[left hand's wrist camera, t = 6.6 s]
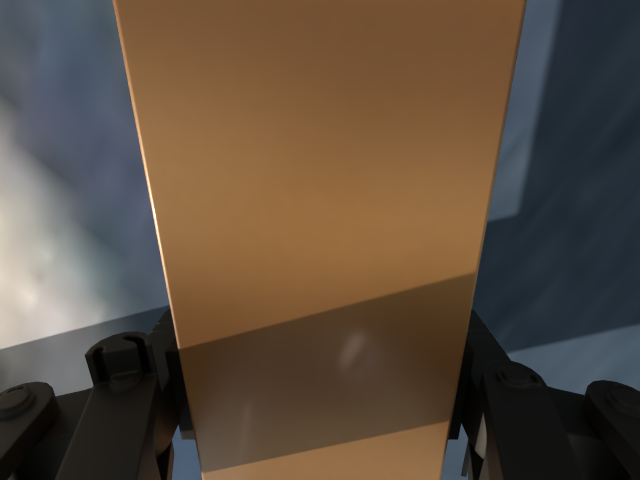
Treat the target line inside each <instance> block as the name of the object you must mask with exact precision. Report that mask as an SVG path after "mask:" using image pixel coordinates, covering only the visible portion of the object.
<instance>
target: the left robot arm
mask: <svg viewBox="0 0 640 480" xmlns="http://www.w3.org/2000/svg"><path fill="white" fill-rule="evenodd" d="M85 358H86V361H87V364H88V368H89V371H90V374H91V378H92V381H93V385H94V386H93V388H90V389H87V390H83V391H79V392H74V393H70V394H65V395H61V396H56V397H55V394H54V391H53V388H52V387H51V386H50V385H49V384H47V383H43V382H32V383H25V384H21V385H18V386H16V387H12V388H10V389H8V390H6V391H4V392H2V393H0V480H172V471H173V461H174V449H173V443H172V437H173V435H174V433H175V431H176V428H177V426H178V424H179V428H180V433H181V439H195V436H194V430H193V425H192V420H191V414H190V409H189V404H188V398H187V393H186V388H185V382H184V377H183V372H182V366H181V361H180V356H179V350H178V345H177V340H176V334H175V329H174V324H173V318H172V313H171V309H169V310H168V311H166V312H165V313H164V315H163V316H162V317H161V319H160V320H159V321H158V324H157V325H156V326H155V327H154V328H153V330H152V331H151V334H149V335H148V336H147V335H146V334H144V333H140V332H124V333H120V334H116V335H112V336H110V337H108V338H105V339H103V340H101V341H99V342H98V343H97V344H95V345H94V346H92V347H91V348H90V349H89V351H88V352H87V353H86V354H85ZM461 423H462V425H463V427H464V430H465V432H466V434H467V436H468V443H467V448H466V453H465V458H464V463H463V467H462V474H461V476H465V477H466V475H467V470H468V480H640V391H638V390H636V389H634V388H632V387H629V386H627V385H624V384H621V383H618V382H613V381H606V380H600V381H593V382H592V383H591V384H590V385H588V387H587V390H586V393H585V395H581V394H577V393H573V392H568V391H564V390H559V389H555V388H551V387H548V386H547V385H546V383H545V382H544V381H543V379H542V378H541V376H540V375H538V374H537V373H536V372H535V371H533V370H532V369H530V368H528V367H526V366H524V365H522V364H520V363H517V362H514V361H511V360H510V359H509V357H508V356H507V355H506V353H505V352H504V350H503V349H502V348H501V346H500V345H499V344H498V342H497V341H496V340H495V338H494V337H493V335H492V334H491V333H490V332H489V330H488V329H487V327H486V326H485V325H484V324H482V321H481V319H480V318H479V316H478V315H477V314H476V312H475V311H474V310H472V309H471V315H470V320H469V326H468V331H467V337H466V342H465V348H464V353H463V359H462V365H461V370H460V376H459V381H458V387H457V392H456V398H455V403H454V409H453V415H452V420H451V426H450V431H449V437H448V439H458V437H459V432H460V427H461Z"/></svg>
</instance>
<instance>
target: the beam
mask: <svg viewBox="0 0 640 480" xmlns="http://www.w3.org/2000/svg"><path fill="white" fill-rule="evenodd" d="M526 3H527V0H113V4H114V9H115V14H116V20H117V25H118V30H119V36H120V41H121V46H122V52H123V57H124V62H125V68H126V73H127V78H128V84H129V89H130V94H131V100H132V105H133V110H134V116H135V121H136V126H137V132H138V137H139V142H140V148H141V153H142V158H143V164H144V169H145V174H146V180H147V185H148V190H149V196H150V201H151V206H152V212H153V217H154V222H155V228H156V233H157V238H158V244H159V249H160V254H161V260H162V265H163V270H164V276H165V281H166V286H167V292H168V297H169V302H170V308H171V313H172V318H173V324H174V329H175V334H176V340H177V345H178V350H179V356H180V361H181V366H182V372H183V377H184V382H185V388H186V393H187V398H188V404H189V409H190V414H191V420H192V425H193V430H194V436H195V441H196V446H197V452H198V457H199V462H200V468H201V473H202V478H203V480H441V476H442V470H443V465H444V459H445V453H446V448H447V442H448V437H449V431H450V426H451V420H452V415H453V409H454V403H455V398H456V392H457V387H458V381H459V376H460V370H461V365H462V359H463V353H464V348H465V342H466V337H467V331H468V326H469V320H470V315H471V309H472V303H473V298H474V292H475V287H476V281H477V276H478V270H479V264H480V259H481V253H482V248H483V242H484V237H485V231H486V226H487V220H488V214H489V209H490V203H491V198H492V192H493V187H494V181H495V176H496V170H497V164H498V159H499V153H500V148H501V142H502V137H503V131H504V126H505V120H506V114H507V109H508V103H509V98H510V92H511V87H512V81H513V76H514V70H515V64H516V59H517V53H518V48H519V42H520V37H521V31H522V25H523V20H524V14H525V9H526Z"/></svg>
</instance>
